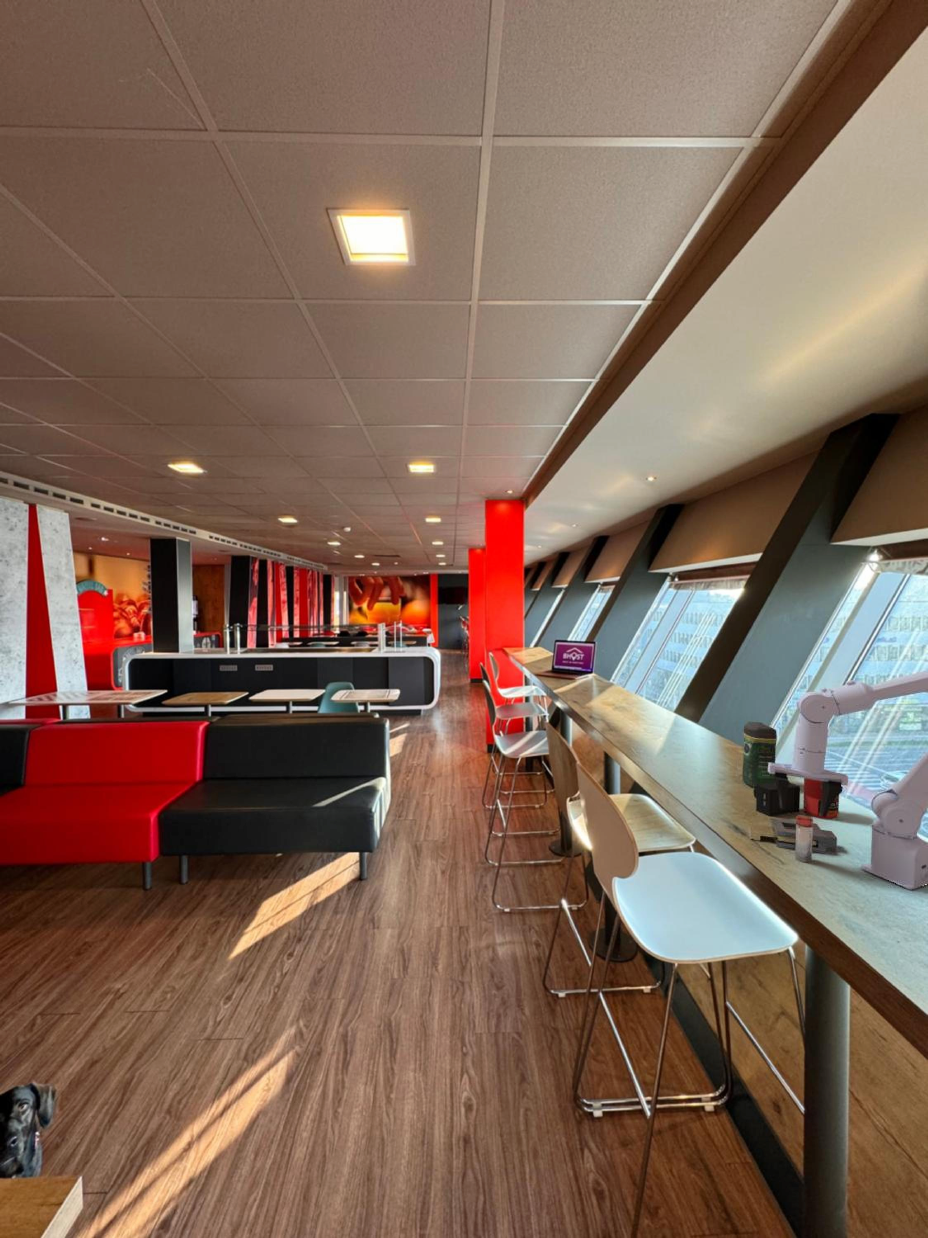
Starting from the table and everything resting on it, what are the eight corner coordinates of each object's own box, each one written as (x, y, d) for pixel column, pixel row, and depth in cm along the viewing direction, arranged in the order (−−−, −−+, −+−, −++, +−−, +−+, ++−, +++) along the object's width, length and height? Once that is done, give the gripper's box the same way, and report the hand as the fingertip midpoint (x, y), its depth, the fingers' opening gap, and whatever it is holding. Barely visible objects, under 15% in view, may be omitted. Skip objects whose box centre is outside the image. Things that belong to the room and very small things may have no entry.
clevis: (828, 840, 130) (829, 825, 129) (839, 855, 122) (839, 839, 122) (746, 830, 135) (747, 815, 135) (751, 843, 127) (752, 827, 127)
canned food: (822, 821, 141) (823, 777, 141) (795, 809, 149) (797, 768, 149) (846, 818, 143) (847, 775, 143) (818, 807, 151) (820, 766, 151)
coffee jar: (779, 790, 164) (781, 727, 164) (751, 789, 165) (753, 726, 164) (765, 780, 174) (767, 720, 173) (738, 779, 175) (740, 719, 174)
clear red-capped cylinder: (814, 861, 119) (816, 819, 118) (804, 864, 118) (806, 821, 117) (801, 855, 122) (803, 814, 121) (791, 858, 120) (793, 816, 120)
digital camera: (781, 805, 153) (782, 779, 152) (799, 812, 147) (800, 785, 147) (752, 809, 149) (752, 783, 149) (769, 816, 144) (770, 789, 144)
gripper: (843, 749, 121) (835, 811, 122) (767, 739, 125) (761, 798, 126) (854, 758, 114) (846, 824, 115) (774, 747, 118) (767, 810, 119)
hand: (802, 811), depth 120 cm, fingers open, 7 cm apart
